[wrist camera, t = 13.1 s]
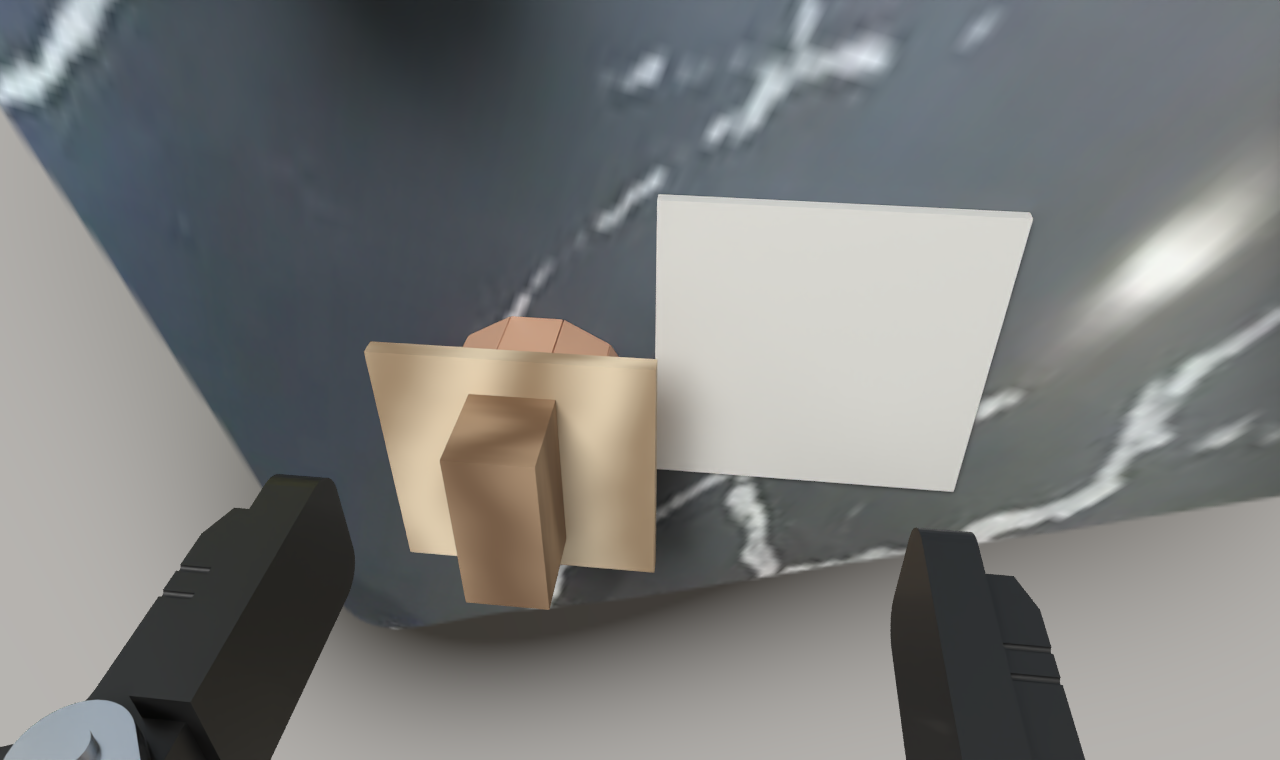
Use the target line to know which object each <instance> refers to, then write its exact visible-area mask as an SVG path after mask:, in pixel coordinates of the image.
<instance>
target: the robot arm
mask: <svg viewBox="0 0 1280 760" xmlns="http://www.w3.org/2000/svg"><path fill="white" fill-rule="evenodd" d="M354 569H355V555H354V549H353V545H352V542H351V538H350V534H349V531H348V527H347V524H346V520H345V517H344V513H343V510H342V506H341V503H340V499H339V496H338V492H337V489H336V486H335V484H334V482H333V481H332V480H331V479H329V478H321V477H308V476H296V475H284V474H276V475H274V476H272V477H271V478H270V479H269V480H268V481H267V483H266V484H265V485H264V487H263V488H262V490H261V492H260V493H259V495H258V496H257V498H256V499H255V501H254V502H253V504H252V506H251V507H250V509H242V508H234V509H232V510H231V511H230V512H228V513H227V514H226V515H225V516H223V517H222V518H221V519H220V520H218V521H217V522H216V523H214V524H213V525H212V526H211V527H210V528H208V529H207V530H206V531H204V532H203V533H202V534H201V535H200V537H199V538H198V540H197V541H196V543H195V544H194V546H193V547H192V549H191V550H190V551H189V553H188V554H187V556H186V557H185V559H184V560H183V562H182V563H181V568H180V570H179V571H176V572H175V573H174V575H173V576H172V578H171V579H170V581H169V582H168V584H167V585H166V586H165V588H164V589H163V592H164V593H163V595H162V597H158V598H157V600H156V601H155V603H154V604H153V605H152V607H151V608H150V610H149V611H148V613H147V614H146V616H145V617H144V619H143V620H142V622H141V623H140V624H139V626H138V627H137V629H136V630H135V632H134V633H133V635H132V636H131V638H130V639H129V641H128V642H127V643H126V645H125V646H124V648H123V649H122V651H121V652H120V654H119V655H118V657H117V658H116V660H115V661H114V663H113V664H112V665H111V667H110V668H109V670H108V671H107V673H106V674H105V676H104V677H103V679H102V680H101V681H100V683H99V684H98V686H97V687H96V689H95V690H94V692H93V693H92V694H91V695H90V697H89V698H88V699H87V700H86V701H83V702H78V703H74V704H71V705H68V706H66V707H63V708H61V709H59V710H57V711H54V712H52V713H51V714H49V715H47V716H46V717H44V718H42V719H41V720H39V721H38V722H37V723H35V724H34V725H33V726H31V727H30V728H29V729H28V730H27V731H26V732H25V733H24V734H22V735H21V737H20V738H19V739H18V740H17V741H16V742H15V743H14V744H12V745H8V746H4V747H0V760H271V757H272V755H273V753H274V751H275V749H276V747H277V745H278V742H279V740H280V738H281V736H282V734H283V732H284V730H285V728H286V725H287V724H288V721H289V719H290V717H291V715H292V713H293V711H294V709H295V706H296V704H297V702H298V700H299V698H300V696H301V694H302V692H303V689H304V688H305V685H306V683H307V681H308V679H309V677H310V675H311V673H312V670H313V668H314V666H315V664H316V662H317V660H318V658H319V656H320V654H321V652H322V649H323V647H324V645H325V643H326V641H327V639H328V637H329V634H330V632H331V630H332V628H333V626H334V624H335V622H336V620H337V618H338V616H339V613H340V611H341V609H342V607H343V605H344V603H345V601H346V599H347V596H348V594H349V592H350V589H351V585H352V581H353V577H354ZM891 648H892V655H893V662H894V671H895V678H896V686H897V694H898V701H899V709H900V716H901V724H902V732H903V739H904V747H905V754H906V760H1085V758H1084V754H1083V751H1082V748H1081V744H1080V741H1079V738H1078V735H1077V731H1076V728H1075V725H1074V721H1073V718H1072V715H1071V711H1070V708H1069V705H1068V702H1067V698H1066V695H1065V691H1064V688H1063V685H1060V675H1059V672H1058V668H1057V665H1056V661H1055V658H1054V655H1053V654H1051V645H1050V642H1049V638H1048V635H1047V632H1046V628H1045V625H1044V622H1043V618H1042V615H1041V612H1040V609H1039V608H1038V607H1037V606H1036V604H1035V603H1034V602H1033V600H1032V599H1031V598H1030V597H1029V595H1028V594H1027V593H1026V591H1025V590H1024V589H1023V588H1022V586H1021V585H1020V584H1019V583H1018V581H1017V580H1016V579H1015V577H1014V576H1005V575H993V574H985V570H984V567H983V562H982V558H981V554H980V550H979V546H978V542H977V539H976V537H975V535H974V534H973V533H972V532H962V531H950V530H938V529H925V528H914V529H913V530H912V532H911V535H910V538H909V542H908V545H907V549H906V553H905V557H904V561H903V565H902V568H901V572H900V576H899V580H898V584H897V587H896V591H895V595H894V600H893V604H892V612H891Z"/></svg>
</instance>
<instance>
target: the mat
mask: <svg viewBox="0 0 1280 760" xmlns="http://www.w3.org/2000/svg"><path fill="white" fill-rule="evenodd" d="M1032 221H1033V218H1032V216H1031V214H1030V212H1010V211H990V210H969V209H949V208H929V207H909V206H888V205H868V204H848V203H827V202H807V201H787V200H767V199H746V198H726V197H706V196H685V195H665V194H659V195H658V199H657V265H656V346H655V359H658V361H657V469H664V470H677V471H690V472H703V473H716V474H729V475H742V476H755V477H768V478H781V479H794V480H807V481H820V482H833V483H845V484H858V485H871V486H884V487H897V488H910V489H923V490H936V491H949V492H954V488H955V485H956V481H957V478H958V475H959V471H960V468H961V464H962V461H963V457H964V454H965V451H966V447H967V444H968V440H969V437H970V433H971V430H972V427H973V423H974V420H975V416H976V413H977V409H978V406H979V403H980V399H981V396H982V392H983V389H984V385H985V382H986V379H987V375H988V372H989V368H990V365H991V361H992V358H993V355H994V351H995V348H996V344H997V341H998V337H999V334H1000V331H1001V327H1002V324H1003V320H1004V317H1005V313H1006V310H1007V307H1008V303H1009V300H1010V296H1011V293H1012V289H1013V286H1014V283H1015V279H1016V276H1017V272H1018V269H1019V265H1020V262H1021V259H1022V255H1023V252H1024V248H1025V245H1026V241H1027V238H1028V235H1029V231H1030V228H1031V224H1032Z"/></svg>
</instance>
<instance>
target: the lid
mask: <svg viewBox="0 0 1280 760" xmlns="http://www.w3.org/2000/svg"><path fill="white" fill-rule="evenodd" d="M364 353H365V358H366V362H367V366H368V371H369V375H370V379H371V383H372V388H373V392H374V396H375V401H376V405H377V409H378V414H379V418H380V422H381V426H382V431H383V435H384V439H385V444H386V448H387V452H388V456H389V461H390V465H391V469H392V474H393V478H394V482H395V486H396V491H397V495H398V499H399V504H400V508H401V512H402V516H403V521H404V525H405V529H406V534H407V538H408V542H409V547H410V551H411V552H418V553H430V554H442V555H454V556H458V562H459V567H460V572H461V578H462V583H463V588H464V594H465V599H466V602H469V603H480V604H492V605H503V606H514V607H525V608H536V609H547V610H549V609H550V605H551V601H552V596H553V592H554V588H555V584H556V580H557V576H558V572H559V567H560V565H572V566H583V567H595V568H607V569H619V570H630V571H642V572H654V571H655V563H656V477H657V361H658V359H642V358H626V357H610V356H594V355H578V354H562V353H546V352H530V351H514V350H498V349H482V348H466V347H450V346H434V345H418V344H402V343H386V342H370V343H369V345H368V346H367V348H366V349H365V351H364Z"/></svg>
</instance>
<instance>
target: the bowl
mask: <svg viewBox="0 0 1280 760" xmlns="http://www.w3.org/2000/svg"><path fill="white" fill-rule="evenodd" d="M609 345H610V344H608V343H606V342H604V341H602V340H601V339H599V338H597V337H595V336H593V335H591V334H589V333H588V332H586V331H584V330H582V329H580V328H578V327H576V326H575V325H573V324H571V323H569V322H567V321H565V320H564V321H563V320H562V319H546V318H530V317H514V316H511V317H508V318H506V319H504V320H502V321H499V322H497V323H495V324H493V325H491V326H488V327H486V328H484V329H482V330H480V331H477V332H475V333H473V334H471V335H469V336H468V337H467V339H466V341H465V343H464V345H463V346H462V347H466V348H482V349H498V350H514V351H530V352H546V353H562V354H578V355H594V356H610V357H618V355H617V354H616V352H615V351H614V349H613V348H612V346H611V345H610V346H609Z"/></svg>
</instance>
